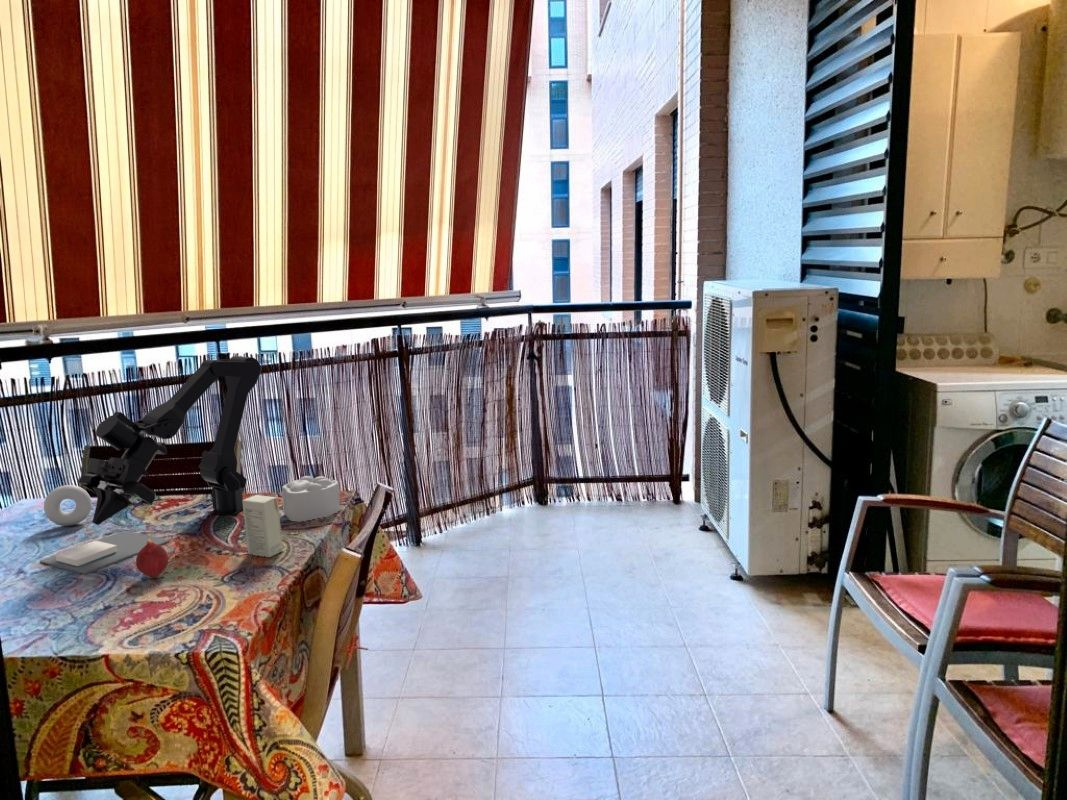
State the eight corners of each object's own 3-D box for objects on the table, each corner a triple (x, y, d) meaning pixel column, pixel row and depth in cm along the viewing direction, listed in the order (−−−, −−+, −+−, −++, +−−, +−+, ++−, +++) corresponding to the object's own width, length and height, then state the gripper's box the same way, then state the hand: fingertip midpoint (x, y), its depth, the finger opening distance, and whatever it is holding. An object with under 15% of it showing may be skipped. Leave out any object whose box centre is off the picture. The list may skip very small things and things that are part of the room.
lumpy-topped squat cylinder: (281, 512, 197) (279, 478, 195) (333, 503, 204) (331, 470, 202) (292, 524, 188) (289, 489, 187) (345, 514, 195) (343, 480, 193)
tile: (95, 540, 174) (55, 554, 166) (116, 545, 171) (76, 560, 163) (96, 547, 174) (56, 561, 166) (117, 552, 171) (77, 567, 163)
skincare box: (283, 551, 171) (279, 497, 169) (269, 558, 167) (264, 503, 165) (261, 547, 174) (256, 493, 171) (246, 554, 170) (241, 499, 168)
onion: (176, 573, 160) (172, 536, 158) (154, 585, 155) (150, 546, 153) (153, 570, 162) (149, 533, 160) (131, 581, 157) (126, 543, 155)
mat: (125, 532, 185) (125, 530, 184) (169, 541, 178) (169, 540, 178) (39, 562, 167) (39, 560, 167) (85, 574, 160) (84, 572, 160)
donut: (94, 519, 194) (89, 480, 192) (94, 524, 190) (89, 484, 189) (47, 526, 189) (41, 486, 187) (45, 531, 186) (40, 490, 184)
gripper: (81, 438, 175) (38, 500, 168) (137, 446, 167) (94, 512, 159) (117, 463, 184) (78, 524, 176) (173, 472, 175) (134, 536, 168)
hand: (95, 523), depth 170 cm, fingers closed
